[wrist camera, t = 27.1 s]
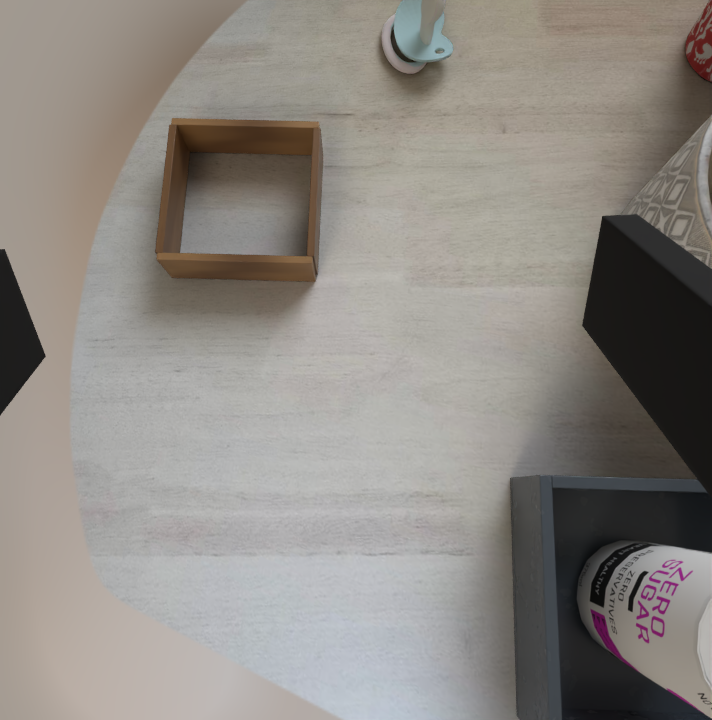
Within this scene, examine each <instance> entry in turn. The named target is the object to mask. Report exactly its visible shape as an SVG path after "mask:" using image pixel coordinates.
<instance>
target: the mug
mask: <svg viewBox="0 0 712 720" xmlns="http://www.w3.org/2000/svg"><path fill="white" fill-rule="evenodd" d="M686 56H687V59H688V62H689V63H690V65H691V67H692V68H693V69H694V70H695V71H696V72H697V73H698V74H699V75H700V76H701V77H703V78H704V79H706V80H708V81H710V82H712V0H710V1H709V3H708V4H707V6H706V7H705V9H704V10H703V12H702V14H701V15H700V17H699V18H698V20H697V22H696V23H695V25H694V26H693V28H692V30H691V31H690V33H689V35H688V38H687V41H686Z"/></svg>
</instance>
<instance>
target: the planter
mask: <svg viewBox="0 0 712 720" xmlns="http://www.w3.org/2000/svg"><path fill="white" fill-rule="evenodd" d="M632 214H637V215H639V216H640V217H641V218H643V219H644V220H646V221H647V222H648V223H650V224H651V225H652V226H654V227H655V228H657V229H658V230H659V231H661V232H662V233H663V234H665V235H666V236H667V237H669V238H670V239H672V240H673V241H674V242H676V243H677V244H678V245H680V246H681V247H682V248H684V249H685V250H687V251H688V252H689V253H691V254H692V255H693V256H695V257H696V258H697V259H699V260H700V261H702V262H703V263H704V264H706V265H707V266H708V267H710V268H711V269H712V115H711V116H710V117H709V118H708V119H707V120H706V121H705V122H704V123H703V125H702V126H701V127H700V128H699V129H698V130H697V131H696V132H695V133H694V134H693V135H692V136H691V137H690V138H689V139H688V141H687V142H686V143H685V144H684V145H683V146H682V147H681V148H680V149H679V150H678V151H677V152H676V153H675V154H674V155H673V157H672V158H671V159H670V160H669V161H668V162H667V163H666V164H665V165H664V166H663V167H662V168H661V169H660V170H659V172H658V173H657V174H656V175H655V176H654V177H653V178H652V179H651V180H650V181H649V182H648V183H647V184H646V185H645V186H644V188H643V189H642V190H641V191H640V192H639V193H638V194H637V195H636V196H635V197H634V198H633V199H632V200H631V202H630V203H629V204H628V206H627V207H626V208H625V210H624V211H623V212H622V214H621V215H632Z"/></svg>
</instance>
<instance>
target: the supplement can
mask: <svg viewBox="0 0 712 720" xmlns="http://www.w3.org/2000/svg"><path fill="white" fill-rule="evenodd" d="M577 603H578V607H579V612H580V616H581V620H582V622H583V623H584V625H585V627H586V628H587V630H588V632H589V633H590V635H591V637H592V638H593V639H594V640H595V641H596V642H597V643H598V644H599V645H600V646H602V647H603V648H604V649H605V650H606V651H607V652H609V653H610V654H611V655H613V656H615V657H616V658H618V659H619V660H621V661H622V662H624V663H625V664H627V665H629V666H630V667H632V668H633V669H635V670H636V671H638V672H640V673H641V674H643V675H644V676H646V677H647V678H649V679H651V680H652V681H654V682H655V683H657V684H658V685H660V686H661V687H663V688H665V689H666V690H668V691H669V692H671V693H672V694H674V695H676V696H677V697H679V698H680V699H682V700H683V701H685V702H686V703H688V704H690V705H691V706H693V707H694V708H696V709H697V710H699V711H701V712H702V713H704V714H705V715H707V716H708V717H710V718H712V553H708V552H702V551H696V550H691V549H685V548H679V547H673V546H667V545H662V544H656V543H650V542H644V541H630V540H619V541H616V542H614V543H611V544H608V545H606V546H603V547H601V548H600V549H599V550H598V551H597V552H596V553H595V554H593V555H592V556H591V557H590V558H589V559H588V560H587V562H586V564H585V566H584V568H583V570H582V572H581V574H580V576H579V580H578V590H577Z"/></svg>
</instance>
